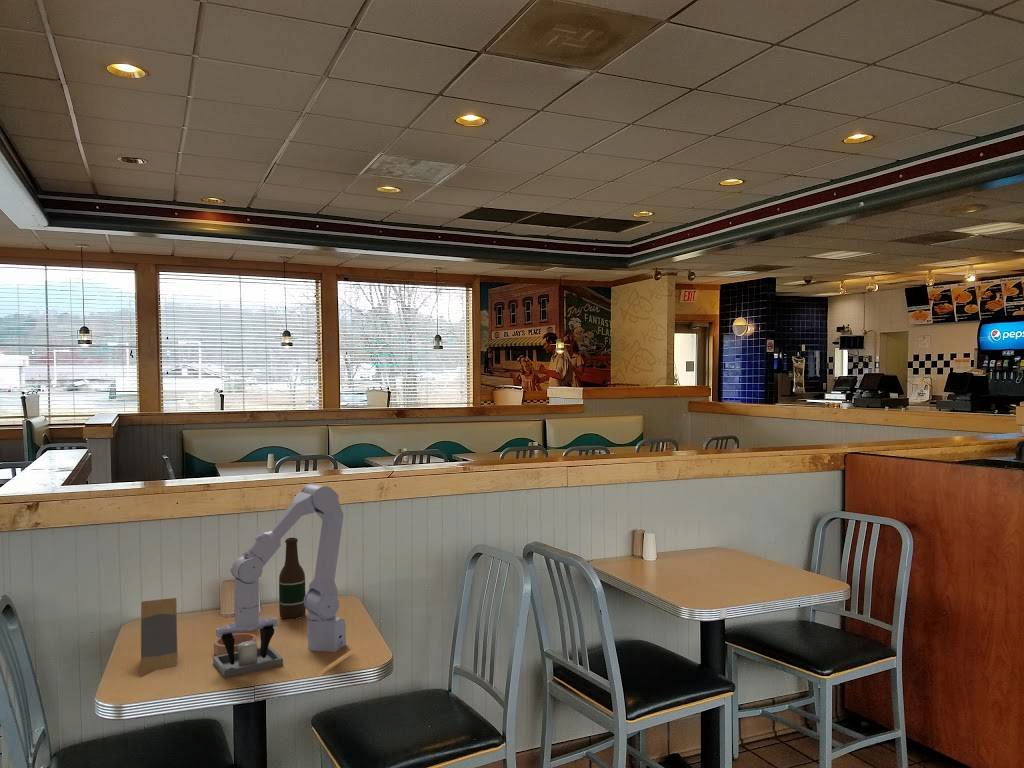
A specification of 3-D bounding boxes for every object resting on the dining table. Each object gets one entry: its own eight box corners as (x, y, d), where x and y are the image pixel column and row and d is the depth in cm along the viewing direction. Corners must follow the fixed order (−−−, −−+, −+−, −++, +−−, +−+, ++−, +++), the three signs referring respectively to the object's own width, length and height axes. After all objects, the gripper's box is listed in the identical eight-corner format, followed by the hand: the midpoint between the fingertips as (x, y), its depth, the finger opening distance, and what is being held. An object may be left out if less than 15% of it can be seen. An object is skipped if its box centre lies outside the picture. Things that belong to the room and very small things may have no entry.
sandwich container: (139, 678, 182) (138, 616, 182) (141, 658, 196) (140, 601, 196) (178, 672, 185) (177, 611, 186) (177, 653, 199) (176, 597, 199)
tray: (269, 655, 196) (269, 645, 196) (283, 669, 186) (282, 658, 186) (213, 667, 188) (213, 656, 188) (224, 682, 178) (224, 671, 178)
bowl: (264, 648, 201) (264, 634, 201) (240, 662, 191) (239, 647, 191) (231, 645, 204) (231, 631, 204) (205, 659, 194) (205, 644, 194)
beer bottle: (279, 614, 233) (278, 537, 233) (305, 611, 235) (304, 535, 235) (279, 621, 225) (278, 541, 225) (306, 618, 227) (304, 539, 228)
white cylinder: (261, 661, 188) (260, 641, 188) (250, 668, 184) (249, 647, 184) (245, 660, 190) (245, 640, 190) (234, 666, 185) (234, 646, 185)
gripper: (220, 614, 180) (221, 671, 180) (280, 604, 188) (281, 658, 188) (213, 607, 186) (214, 662, 185) (272, 598, 194) (273, 650, 193)
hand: (247, 660), depth 187 cm, fingers open, 7 cm apart
